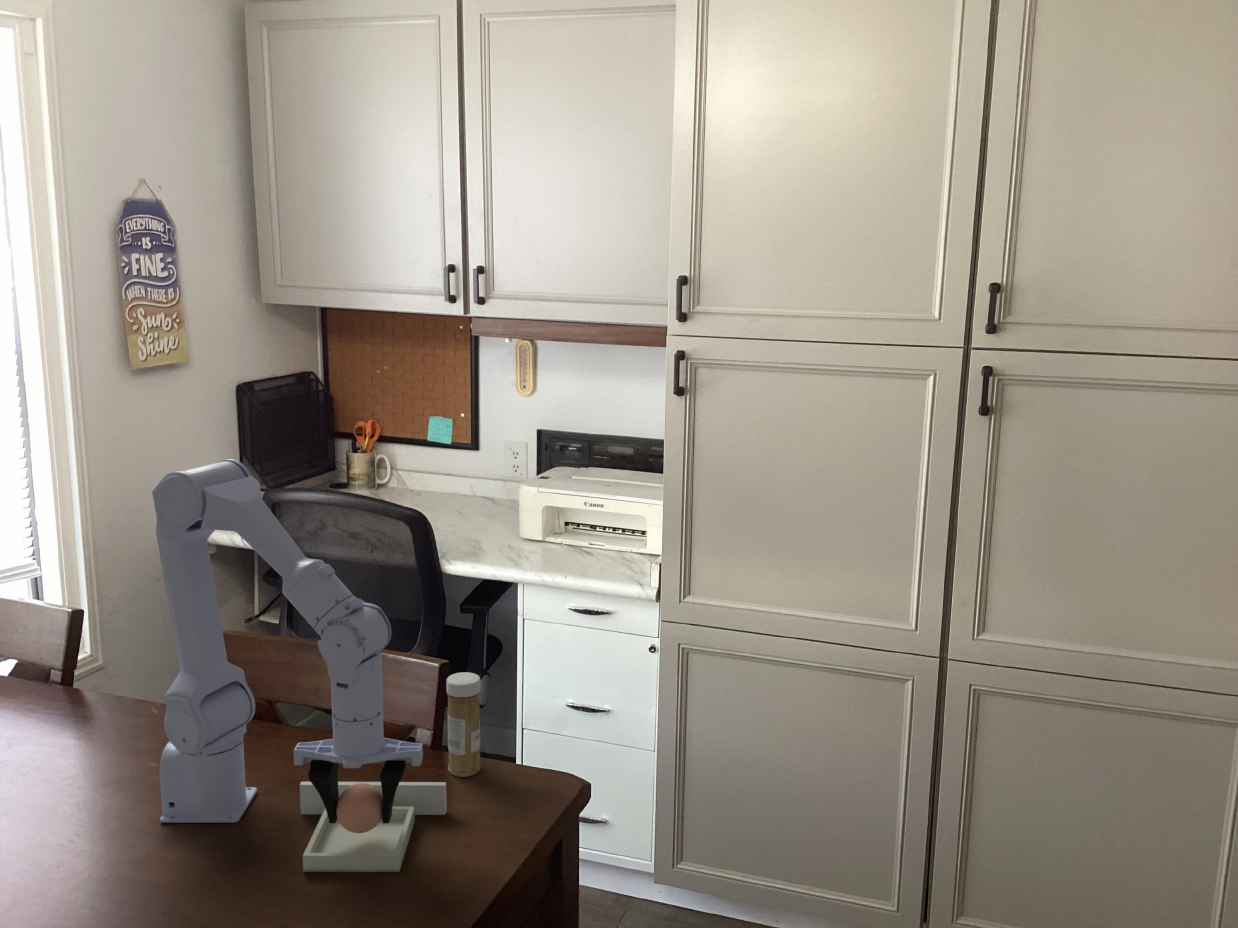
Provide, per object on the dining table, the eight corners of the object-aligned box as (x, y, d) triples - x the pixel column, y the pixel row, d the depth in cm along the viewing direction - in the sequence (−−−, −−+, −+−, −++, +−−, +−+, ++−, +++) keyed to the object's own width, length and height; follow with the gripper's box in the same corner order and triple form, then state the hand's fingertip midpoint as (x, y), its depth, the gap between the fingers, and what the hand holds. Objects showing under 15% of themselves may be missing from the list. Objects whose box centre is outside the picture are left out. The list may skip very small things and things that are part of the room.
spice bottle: (486, 772, 139) (486, 679, 137) (455, 781, 137) (455, 686, 134) (472, 758, 143) (471, 668, 141) (441, 767, 141) (440, 674, 138)
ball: (331, 842, 118) (330, 798, 117) (342, 816, 124) (341, 774, 123) (380, 842, 118) (379, 798, 117) (389, 817, 124) (388, 774, 123)
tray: (303, 871, 116) (302, 855, 116) (326, 820, 127) (326, 805, 126) (399, 871, 116) (398, 855, 116) (414, 820, 127) (414, 806, 127)
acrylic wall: (300, 814, 128) (299, 784, 127) (302, 810, 129) (301, 781, 128) (445, 814, 129) (445, 785, 128) (446, 811, 129) (446, 782, 129)
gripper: (284, 726, 114) (289, 837, 117) (415, 726, 115) (417, 837, 117) (301, 699, 121) (305, 804, 124) (424, 700, 121) (426, 805, 124)
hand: (360, 818), depth 121 cm, fingers closed on ball, 6 cm apart
